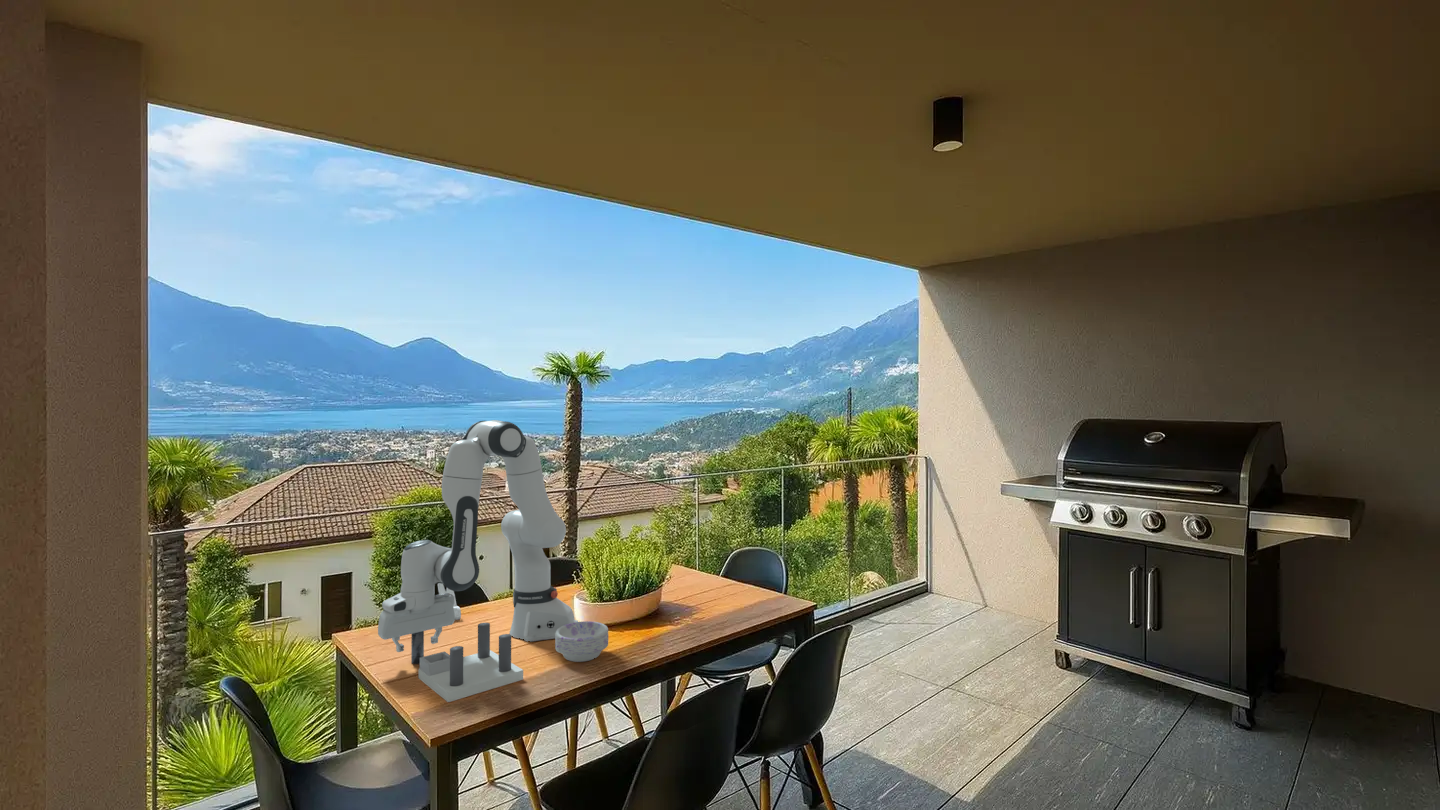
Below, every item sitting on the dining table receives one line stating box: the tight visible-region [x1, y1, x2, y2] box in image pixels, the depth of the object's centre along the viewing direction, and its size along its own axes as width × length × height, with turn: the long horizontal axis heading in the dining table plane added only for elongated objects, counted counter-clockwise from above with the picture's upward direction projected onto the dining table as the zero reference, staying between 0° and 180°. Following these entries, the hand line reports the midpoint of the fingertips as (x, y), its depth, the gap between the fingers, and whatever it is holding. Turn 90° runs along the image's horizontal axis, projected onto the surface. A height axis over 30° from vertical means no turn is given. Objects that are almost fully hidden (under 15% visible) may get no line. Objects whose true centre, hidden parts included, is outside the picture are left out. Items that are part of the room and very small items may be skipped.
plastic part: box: [437, 582, 462, 621], centre depth 227 cm, size 8×10×12 cm
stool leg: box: [410, 631, 425, 665], centre depth 189 cm, size 3×3×9 cm
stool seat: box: [418, 622, 524, 703], centre depth 177 cm, size 20×20×12 cm
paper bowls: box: [554, 620, 609, 663], centre depth 193 cm, size 15×15×8 cm
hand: (417, 647), depth 189 cm, fingers open, 8 cm apart
